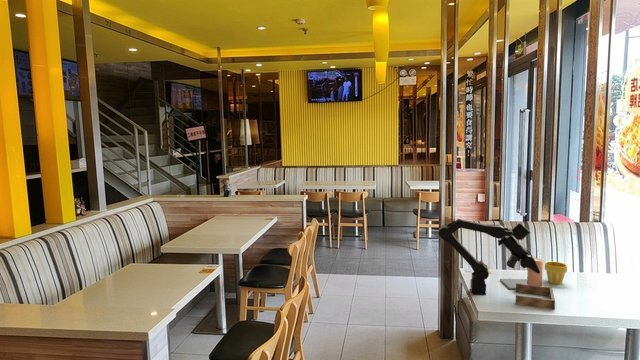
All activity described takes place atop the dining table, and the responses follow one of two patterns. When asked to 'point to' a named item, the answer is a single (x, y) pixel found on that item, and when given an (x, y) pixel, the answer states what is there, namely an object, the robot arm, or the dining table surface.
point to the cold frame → (532, 300)
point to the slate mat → (513, 283)
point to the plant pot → (555, 271)
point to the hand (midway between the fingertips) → (538, 271)
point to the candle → (535, 274)
